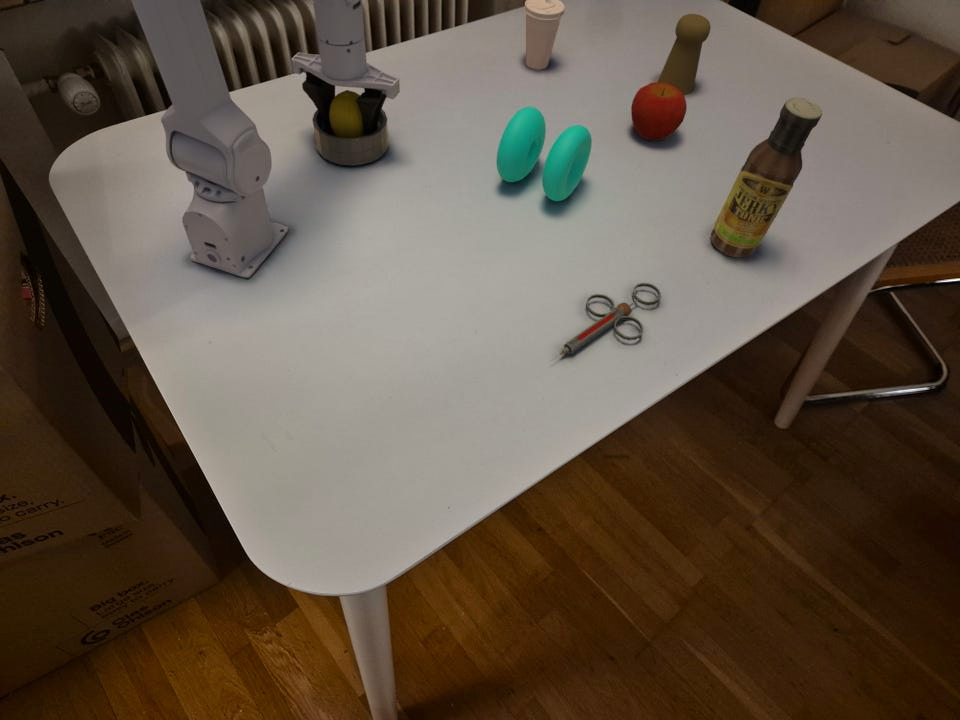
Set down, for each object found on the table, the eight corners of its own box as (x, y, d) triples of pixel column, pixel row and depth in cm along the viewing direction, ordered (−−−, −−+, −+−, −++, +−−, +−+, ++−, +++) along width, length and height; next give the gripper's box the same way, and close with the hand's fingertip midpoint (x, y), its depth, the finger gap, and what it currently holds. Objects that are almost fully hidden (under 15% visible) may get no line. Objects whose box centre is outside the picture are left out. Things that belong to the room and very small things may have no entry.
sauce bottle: (703, 250, 86) (765, 111, 70) (714, 222, 90) (775, 83, 74) (753, 267, 85) (827, 128, 69) (761, 238, 88) (834, 99, 72)
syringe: (524, 344, 74) (526, 335, 73) (629, 274, 82) (633, 264, 81) (573, 388, 71) (576, 379, 70) (678, 311, 79) (682, 301, 78)
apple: (686, 144, 100) (703, 96, 94) (641, 153, 98) (655, 105, 92) (659, 116, 105) (674, 69, 98) (616, 124, 102) (628, 76, 96)
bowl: (369, 175, 91) (366, 147, 88) (304, 157, 93) (299, 128, 89) (399, 137, 97) (398, 109, 93) (337, 120, 99) (334, 91, 95)
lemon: (375, 134, 96) (372, 82, 90) (367, 157, 93) (363, 104, 87) (337, 130, 96) (331, 77, 90) (328, 152, 93) (321, 100, 87)
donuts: (524, 154, 96) (533, 90, 88) (586, 179, 94) (601, 115, 86) (489, 190, 91) (495, 125, 83) (554, 218, 88) (567, 154, 80)
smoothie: (562, 62, 113) (577, -26, 102) (544, 78, 109) (557, -12, 98) (529, 50, 115) (540, -38, 104) (510, 65, 111) (520, -24, 100)
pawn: (650, 79, 111) (669, 11, 103) (679, 72, 113) (700, 6, 104) (671, 97, 108) (692, 30, 99) (701, 91, 110) (724, 24, 101)
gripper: (408, 33, 83) (410, 129, 94) (305, 7, 86) (318, 104, 97) (383, 59, 79) (389, 156, 90) (276, 31, 82) (293, 129, 92)
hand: (351, 131), depth 93 cm, fingers closed on lemon, 5 cm apart
